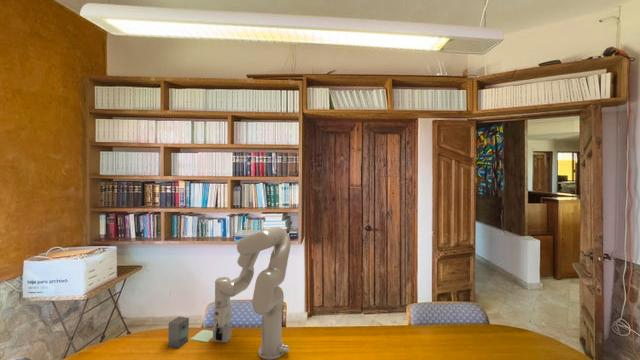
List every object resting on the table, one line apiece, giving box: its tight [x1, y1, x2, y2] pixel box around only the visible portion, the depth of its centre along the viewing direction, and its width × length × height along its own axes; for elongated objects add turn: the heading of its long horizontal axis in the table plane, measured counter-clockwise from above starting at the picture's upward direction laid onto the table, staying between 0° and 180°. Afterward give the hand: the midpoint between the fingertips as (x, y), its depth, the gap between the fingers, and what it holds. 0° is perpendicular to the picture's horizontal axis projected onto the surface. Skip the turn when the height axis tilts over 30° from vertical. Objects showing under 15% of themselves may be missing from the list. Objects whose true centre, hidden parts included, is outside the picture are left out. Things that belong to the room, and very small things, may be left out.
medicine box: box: [212, 321, 232, 343], centre depth 149 cm, size 8×4×9 cm, turn 84°
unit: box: [167, 316, 190, 350], centre depth 145 cm, size 6×7×12 cm
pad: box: [189, 329, 213, 343], centre depth 153 cm, size 10×10×1 cm
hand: (222, 336), depth 149 cm, fingers closed on medicine box, 4 cm apart
